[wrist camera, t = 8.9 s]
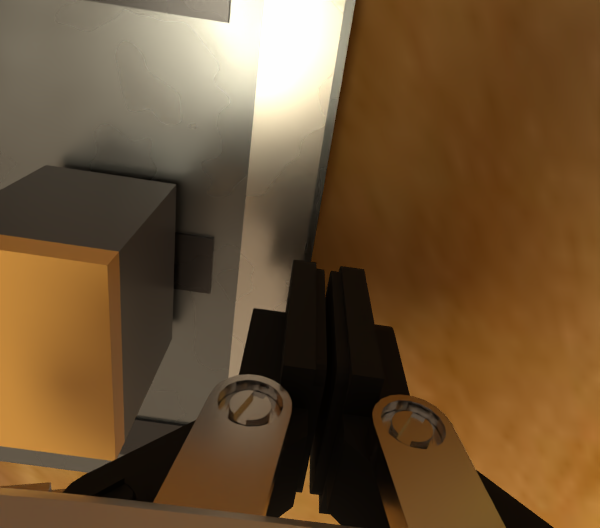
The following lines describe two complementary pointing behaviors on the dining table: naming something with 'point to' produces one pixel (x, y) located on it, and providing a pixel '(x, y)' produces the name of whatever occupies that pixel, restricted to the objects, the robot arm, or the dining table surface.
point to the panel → (185, 153)
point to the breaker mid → (82, 307)
